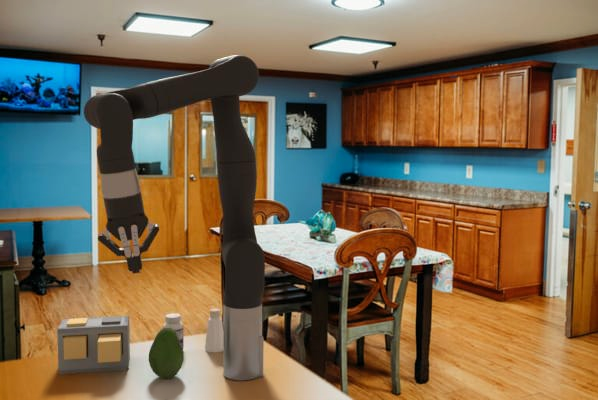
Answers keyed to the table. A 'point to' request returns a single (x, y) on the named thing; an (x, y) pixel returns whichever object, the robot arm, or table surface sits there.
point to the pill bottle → (175, 325)
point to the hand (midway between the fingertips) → (136, 272)
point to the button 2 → (109, 347)
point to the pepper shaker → (214, 332)
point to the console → (93, 343)
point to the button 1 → (75, 346)
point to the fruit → (166, 354)
